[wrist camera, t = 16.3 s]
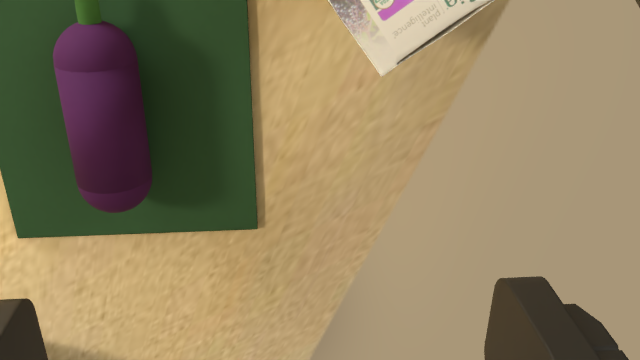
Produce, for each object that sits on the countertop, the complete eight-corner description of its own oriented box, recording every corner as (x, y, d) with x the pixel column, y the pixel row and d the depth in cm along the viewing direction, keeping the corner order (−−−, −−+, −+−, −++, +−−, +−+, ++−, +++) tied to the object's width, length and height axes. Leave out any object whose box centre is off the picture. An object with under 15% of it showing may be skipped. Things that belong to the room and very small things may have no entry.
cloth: (244, -48, 34) (244, -47, 34) (257, 226, 42) (257, 229, 42) (-53, -47, 33) (-56, -46, 33) (19, 235, 41) (17, 238, 41)
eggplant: (140, -13, 34) (109, 2, 30) (165, 193, 40) (142, 228, 36) (64, -15, 34) (23, 0, 30) (99, 190, 40) (70, 224, 36)
